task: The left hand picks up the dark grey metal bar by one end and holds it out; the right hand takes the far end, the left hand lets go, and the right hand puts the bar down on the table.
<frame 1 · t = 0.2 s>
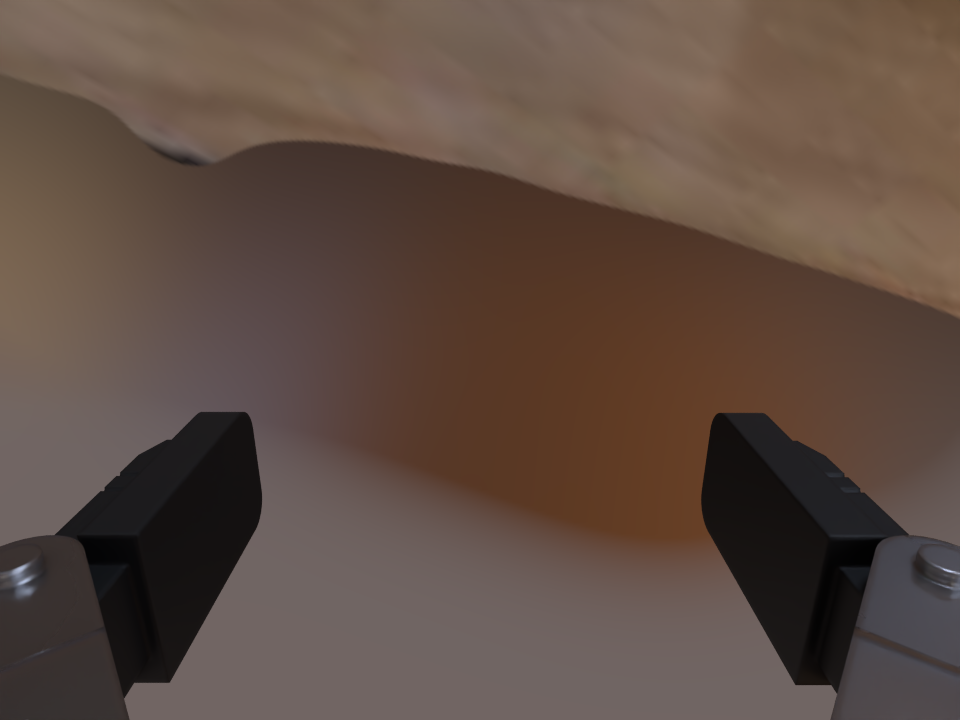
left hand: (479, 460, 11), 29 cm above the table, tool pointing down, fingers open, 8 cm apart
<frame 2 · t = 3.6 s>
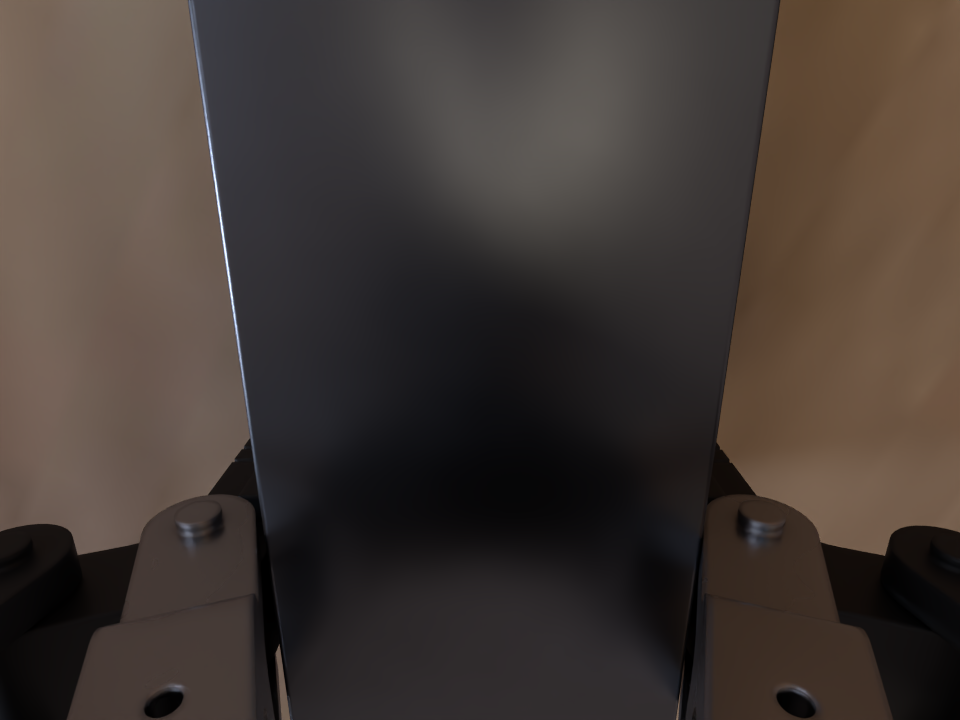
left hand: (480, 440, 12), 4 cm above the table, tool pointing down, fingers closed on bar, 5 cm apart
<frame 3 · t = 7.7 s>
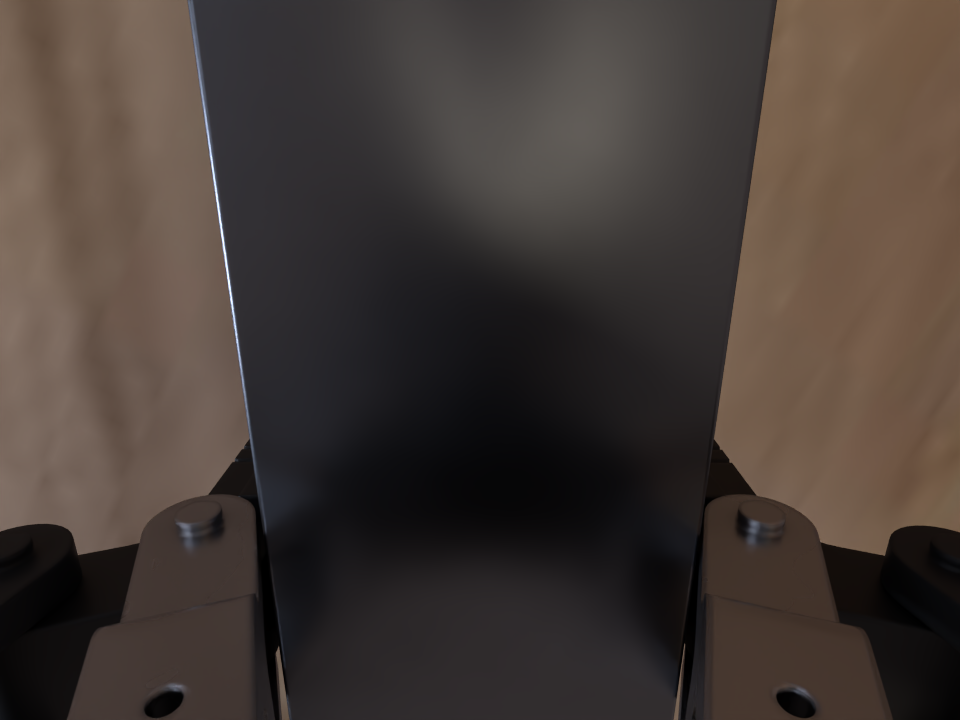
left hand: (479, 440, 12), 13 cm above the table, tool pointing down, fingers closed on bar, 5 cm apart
when the left hand's fingers open (13 cm above the table, at t = 8.7 s): bar stays where it is, held by the right hand.
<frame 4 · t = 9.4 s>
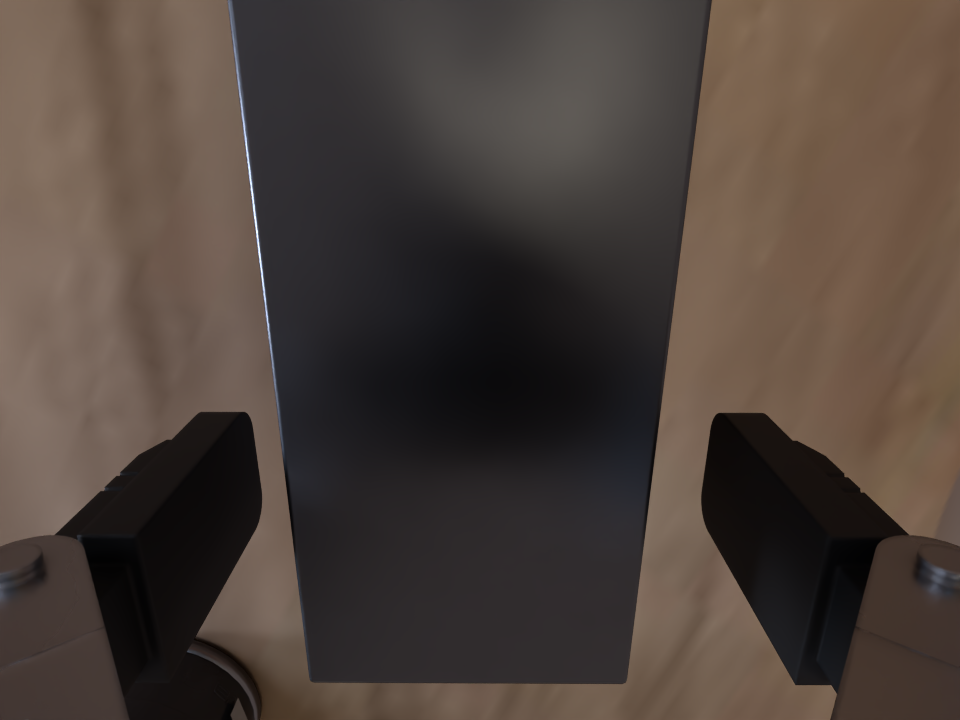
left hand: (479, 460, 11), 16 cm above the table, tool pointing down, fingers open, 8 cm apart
when the right hand's fingers open (5 cm above the table, at t = 13.1 s): bar stays where it is, on the table.
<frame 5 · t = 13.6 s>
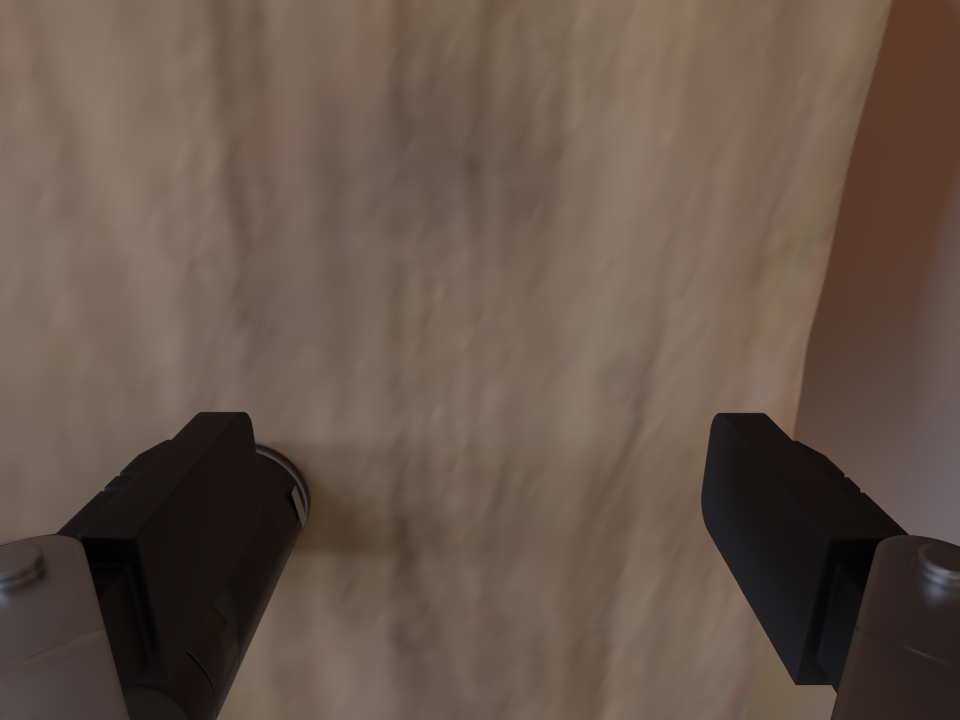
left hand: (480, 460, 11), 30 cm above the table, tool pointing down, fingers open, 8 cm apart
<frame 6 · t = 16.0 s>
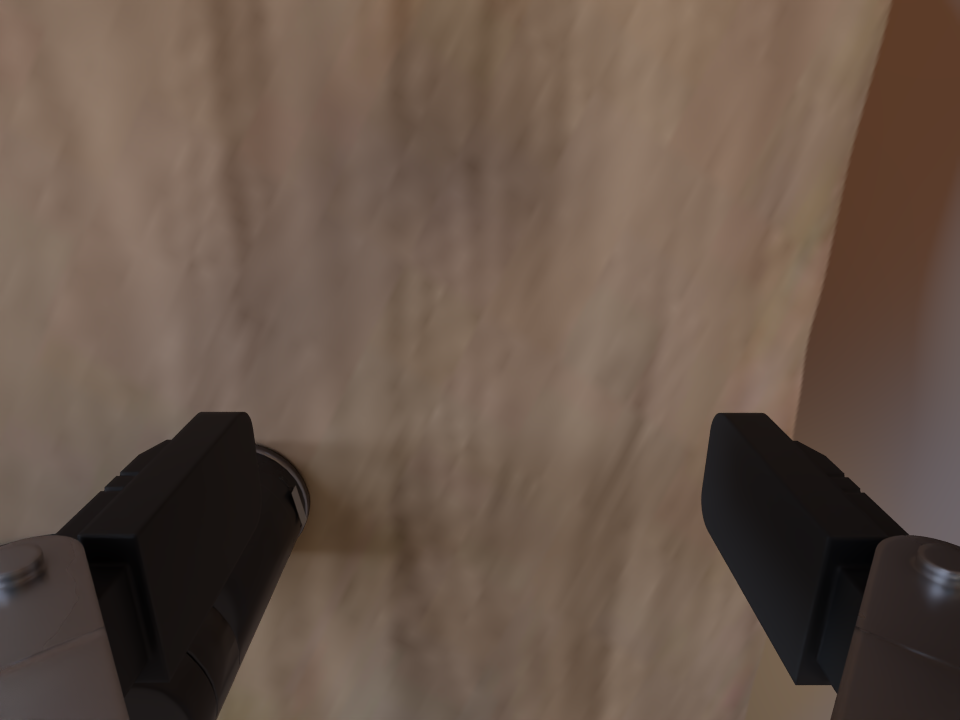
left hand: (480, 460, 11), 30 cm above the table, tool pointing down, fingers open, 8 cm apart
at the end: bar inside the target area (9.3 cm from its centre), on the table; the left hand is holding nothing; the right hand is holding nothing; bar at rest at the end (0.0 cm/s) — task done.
